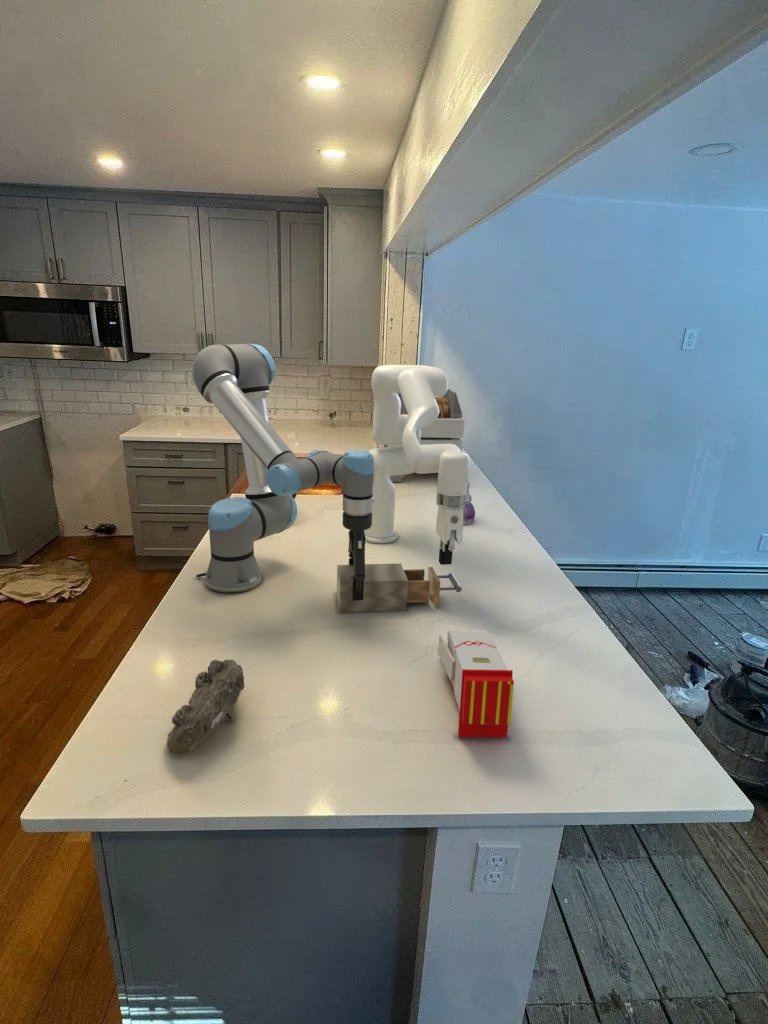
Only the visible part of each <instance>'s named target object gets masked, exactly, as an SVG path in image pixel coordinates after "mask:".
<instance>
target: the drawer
mask: <svg viewBox="0 0 768 1024" xmlns="http://www.w3.org/2000/svg"><path fill="white" fill-rule="evenodd" d="M425 571H426V570H425V569H424V568H417V569H415V568H414V569H413V568H412V569H404V572H405V574H406V577H407V579H408V590H407V604H415V603H416V604H417V603H429V601H430V598H431V601H432V603H433V605H439V604H440V594H441V593H440V592H441V591H455V593H460V592H462V590H463V588H462V586H461V585H460V583H459V581H458V579H457V578H456V576H455V574H454V573H453V572H449V573H448V574H445V575H444V574H440V575H438V574H437V573H436V571H435V569H434V567H433V566H428V569H427V580H426V579H425V573H426V572H425ZM440 579H448V580H449V582H450V583H451V587H449V586H448V587H441V580H440Z"/></svg>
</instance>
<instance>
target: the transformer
mask: <svg viewBox="0 0 768 1024" xmlns="http://www.w3.org/2000/svg"><path fill="white" fill-rule="evenodd" d="M397 394H398V396H399V398H400V400H401V411H400V415H408V413H407V410H406V407H405V404H404V401H403V399H402V396H401V393H397ZM435 400H436V403H437V405H438V408H439V415H438V417H437V419H436V420H435V421H434V422H432V423H431V424H429V425H427V426H426V427H424V428H422V429H421V438H420V445H427V444H454V445H456V446H457V447H458V448H459V450H460V451H462V452H463V442H464V441H463V440H462V439H463V438H464V431H465V430H464V429H465V419H464V418H463V411H462V408H461V405H460V402H459V398H458V395H457V392H455V391H453V390H452V389H451V388H448V390H447V392H446V394H445V395H444V396H442V397H435ZM398 446H402V444H391V445H383V447H398ZM389 479H390V480H391V482H392V483H402V482H403V475H393V476H389Z"/></svg>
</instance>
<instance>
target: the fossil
mask: <svg viewBox="0 0 768 1024" xmlns="http://www.w3.org/2000/svg"><path fill="white" fill-rule="evenodd" d="M243 670H244V669H243V667H242V665H240V664H237V662H236V661H235V660H234V659H232V658H231V659H227V658H226V659H224V660H223V661H222V660H217V659H212V660H211V661H210V663H209V665H208V666H207V671H201V672H199V673H198V674H197V675H196V676H195V680H194V684H195V685H194V687H195V689H194V690H193V693H192V694H191V697H190V698H189V700H188V704H184V705H182V706H181V707H180V709H177V710H176V711H175V713H174V715H173V716H172V718H171V723H172V724H173V727H172V730H171V731H170V732H168V734H167V738H166V741H167V742H166V745H167V749H168V750H169V751H173V752H174V753H176V754H178V753H182V752H188V751H189V752H192V751H193V750H195V748H196V747H197V746H199V744H200V743H201V742H203V741H204V740H205V739H206V738H207V737H208V736H209V735H210V734H211V733H212V732H214V730H215V729H217V727H218V726H219V724H220V722H221V721H222V720H223V719H224V718H225V716H226V717H227V719H229V720H233V717H232V715H230V714H229V710H230V709H231V708H234V706H235V704H236V703H237V702H238V699H239V697H240V695H241V693H242V691H243V690H245V689H244V688H245V675H244V671H243Z"/></svg>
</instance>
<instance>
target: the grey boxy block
mask: <svg viewBox="0 0 768 1024" xmlns="http://www.w3.org/2000/svg"><path fill="white" fill-rule="evenodd" d="M404 570H405V569H404V567H403V565H402V563H367V564H366V563H365V579H364V592H363V600H359V601H353V579H351V576H354V565H349V564H337V565H336V598H337V604H338V612H339V613H362V612H387V611H406V610H407V604H408V603H407V590H408V579H407V577H406V574H405V572H404Z"/></svg>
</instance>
